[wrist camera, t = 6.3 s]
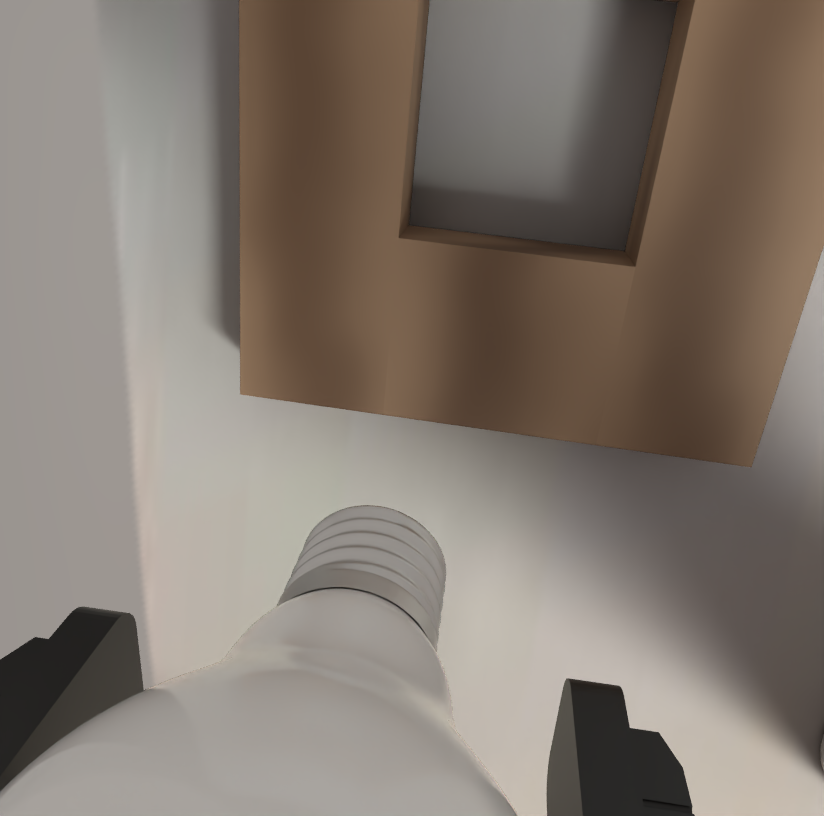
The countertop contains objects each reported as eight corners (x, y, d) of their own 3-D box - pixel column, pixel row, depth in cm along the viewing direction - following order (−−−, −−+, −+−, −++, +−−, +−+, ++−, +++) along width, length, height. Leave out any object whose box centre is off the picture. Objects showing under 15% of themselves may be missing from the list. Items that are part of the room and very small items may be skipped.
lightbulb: (333, 323, 12) (-459, 1376, 2) (620, 531, 13) (972, 1938, 3) (165, 560, 15) (-569, 1558, 5) (416, 722, 16) (248, 1843, 6)
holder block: (943, -253, 19) (1002, -302, 16) (731, 435, 27) (751, 467, 25) (269, -294, 20) (238, -343, 18) (262, 370, 28) (240, 394, 26)
